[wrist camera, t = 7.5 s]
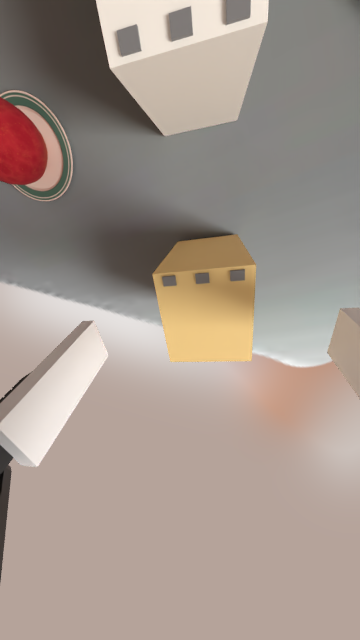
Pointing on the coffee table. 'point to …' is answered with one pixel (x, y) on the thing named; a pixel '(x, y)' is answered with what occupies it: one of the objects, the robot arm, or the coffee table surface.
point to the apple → (33, 147)
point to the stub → (207, 300)
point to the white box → (184, 56)
